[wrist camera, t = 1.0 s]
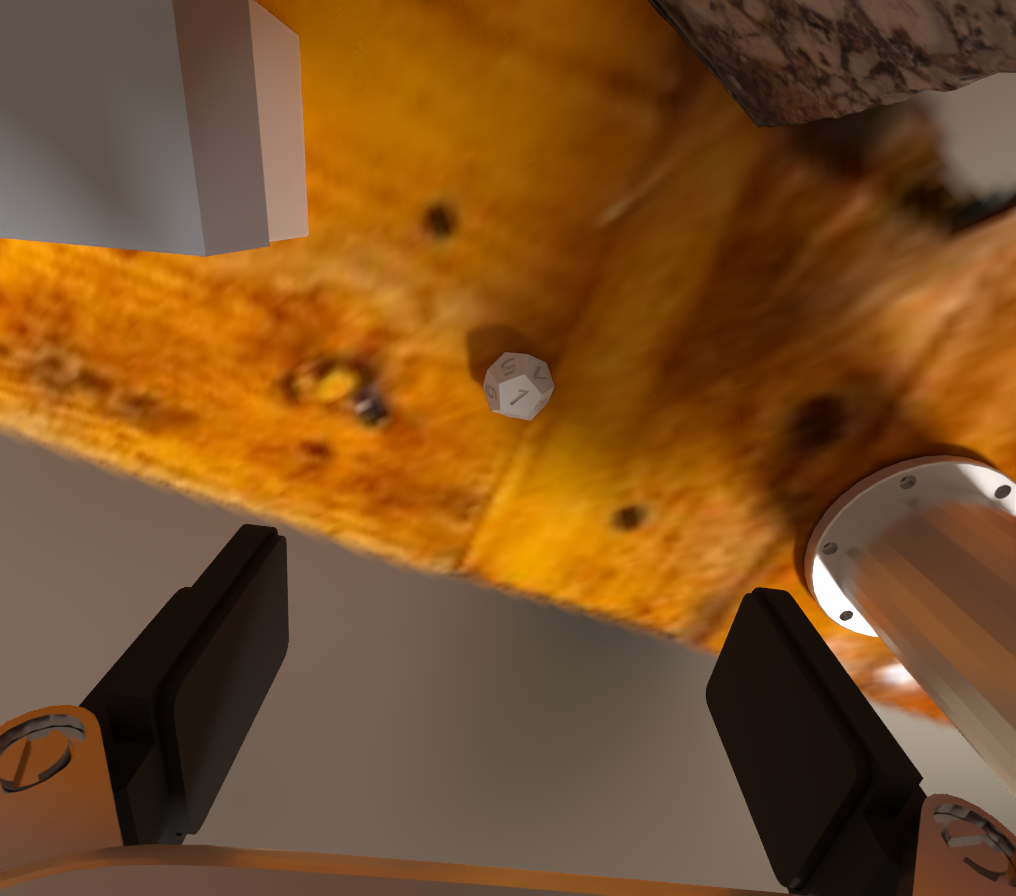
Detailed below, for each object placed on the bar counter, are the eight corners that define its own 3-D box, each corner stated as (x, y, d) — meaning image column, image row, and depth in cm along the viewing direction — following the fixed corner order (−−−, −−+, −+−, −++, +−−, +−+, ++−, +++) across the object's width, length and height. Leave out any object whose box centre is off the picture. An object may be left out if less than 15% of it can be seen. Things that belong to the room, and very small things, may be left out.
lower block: (300, 37, 23) (248, -5, 19) (309, 235, 26) (267, 242, 22) (110, 14, 23) (10, -34, 18) (143, 217, 26) (65, 220, 22)
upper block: (248, 0, 19) (163, -66, 14) (269, 246, 22) (206, 256, 17) (12, -25, 18) (-153, -100, 14) (69, 227, 22) (-49, 233, 17)
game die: (470, 374, 29) (466, 392, 26) (524, 331, 28) (525, 344, 25) (512, 422, 30) (512, 443, 28) (565, 381, 29) (570, 399, 27)
